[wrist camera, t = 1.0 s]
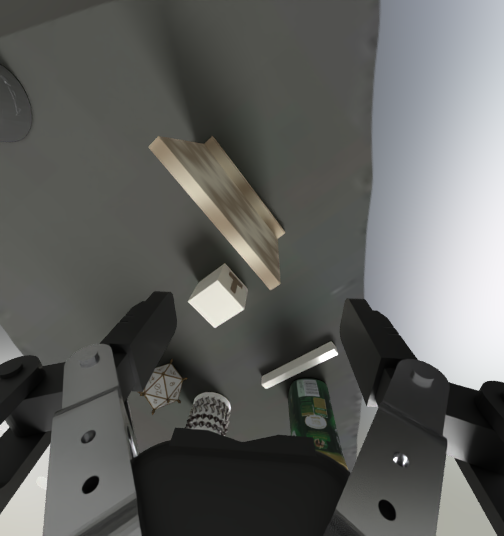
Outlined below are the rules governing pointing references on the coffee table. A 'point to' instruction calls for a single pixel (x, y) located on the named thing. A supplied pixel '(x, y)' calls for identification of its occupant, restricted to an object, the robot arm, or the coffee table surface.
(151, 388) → the game die
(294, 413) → the coffee jar
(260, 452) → the robot arm
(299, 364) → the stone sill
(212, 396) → the decorative candle
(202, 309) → the letter cube
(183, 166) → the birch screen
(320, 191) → the coffee table surface
